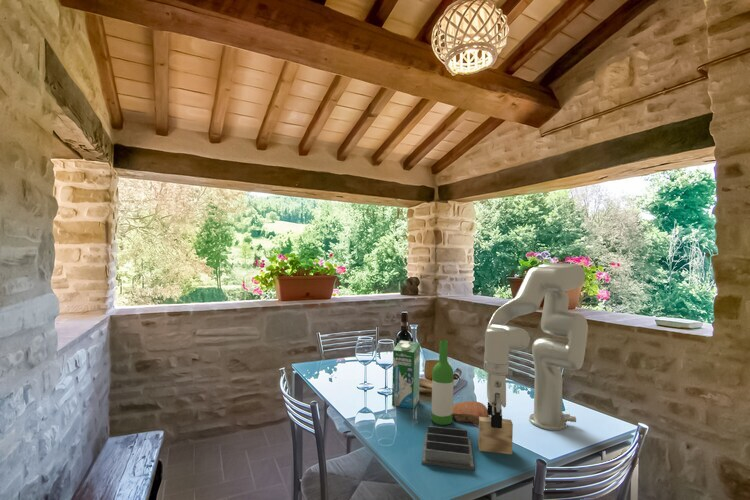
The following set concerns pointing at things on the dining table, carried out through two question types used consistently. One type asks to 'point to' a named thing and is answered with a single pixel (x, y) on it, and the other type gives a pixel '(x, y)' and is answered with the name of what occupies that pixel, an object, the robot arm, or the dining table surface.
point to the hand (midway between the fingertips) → (494, 421)
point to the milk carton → (406, 374)
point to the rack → (447, 448)
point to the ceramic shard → (469, 411)
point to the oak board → (495, 436)
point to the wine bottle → (442, 388)
